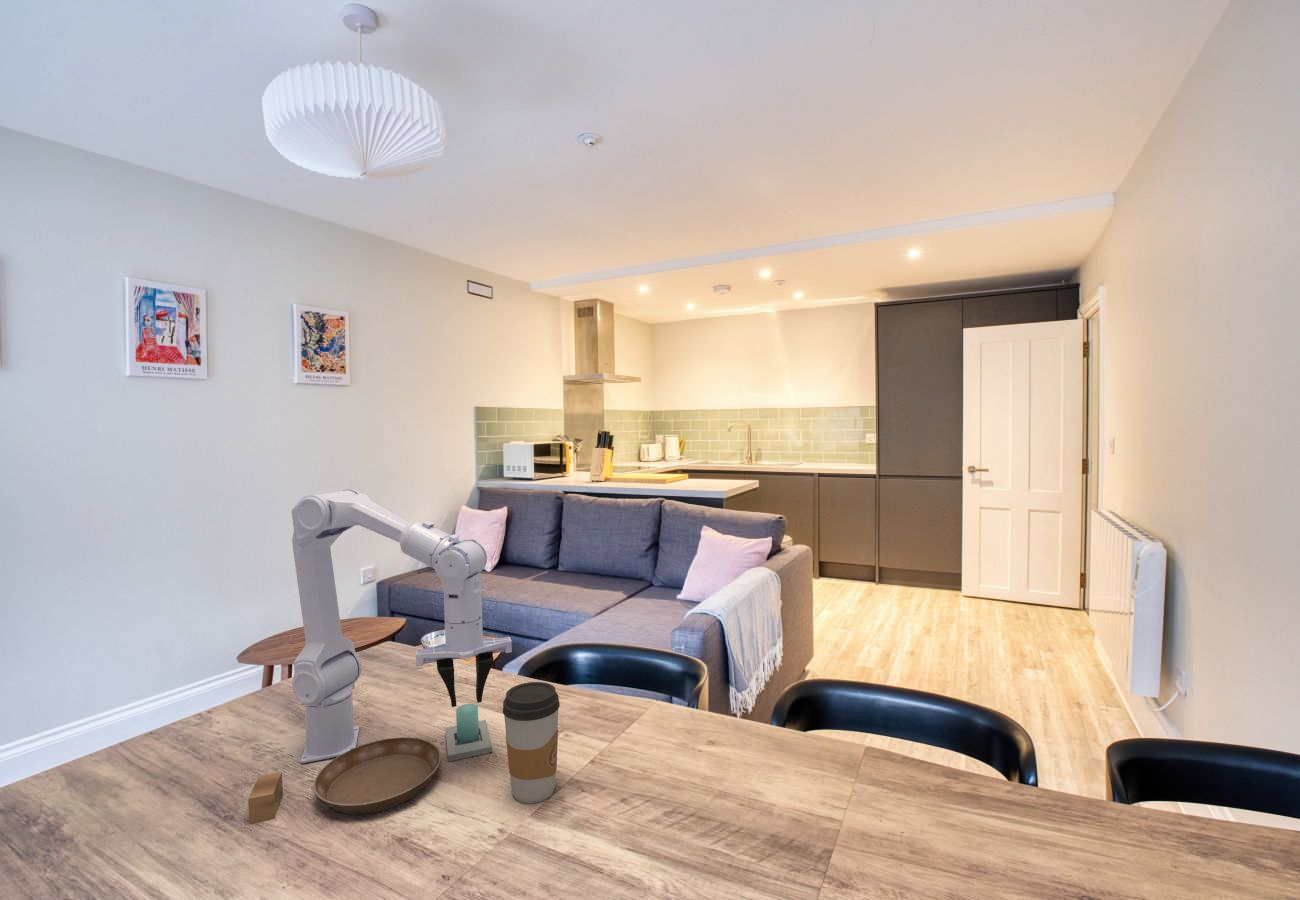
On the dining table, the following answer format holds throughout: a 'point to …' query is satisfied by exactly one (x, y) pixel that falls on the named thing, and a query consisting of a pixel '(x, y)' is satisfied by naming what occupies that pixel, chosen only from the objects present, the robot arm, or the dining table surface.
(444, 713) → the dining table surface
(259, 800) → the stop block
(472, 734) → the dowel
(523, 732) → the coffee cup
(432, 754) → the plant saucer
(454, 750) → the socket block
